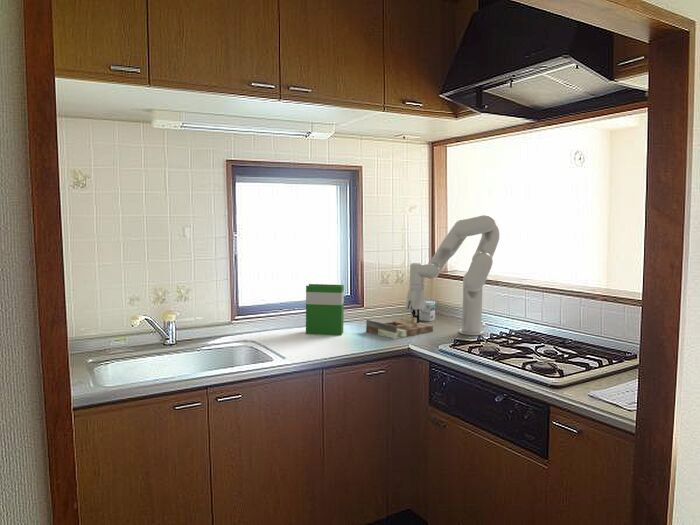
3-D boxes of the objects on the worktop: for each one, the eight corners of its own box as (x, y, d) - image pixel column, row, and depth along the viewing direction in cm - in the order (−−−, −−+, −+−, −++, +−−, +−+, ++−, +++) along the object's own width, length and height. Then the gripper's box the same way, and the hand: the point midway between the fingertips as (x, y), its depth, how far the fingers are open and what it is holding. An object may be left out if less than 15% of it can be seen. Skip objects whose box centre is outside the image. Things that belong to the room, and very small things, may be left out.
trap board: (404, 324, 281) (404, 313, 281) (432, 331, 266) (433, 319, 266) (366, 331, 263) (366, 320, 262) (394, 339, 248) (395, 326, 248)
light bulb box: (435, 319, 297) (435, 301, 296) (430, 321, 291) (430, 302, 290) (418, 317, 302) (418, 299, 302) (413, 319, 297) (413, 300, 296)
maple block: (409, 324, 269) (409, 316, 268) (416, 325, 265) (416, 318, 264) (402, 325, 265) (402, 317, 265) (409, 327, 262) (409, 319, 261)
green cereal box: (305, 334, 257) (306, 285, 255) (308, 330, 264) (309, 284, 262) (341, 335, 255) (341, 286, 253) (343, 332, 262) (343, 284, 260)
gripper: (421, 285, 274) (420, 319, 276) (401, 287, 264) (400, 323, 266) (432, 286, 269) (431, 322, 270) (412, 289, 259) (411, 325, 260)
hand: (415, 322), depth 268 cm, fingers closed
